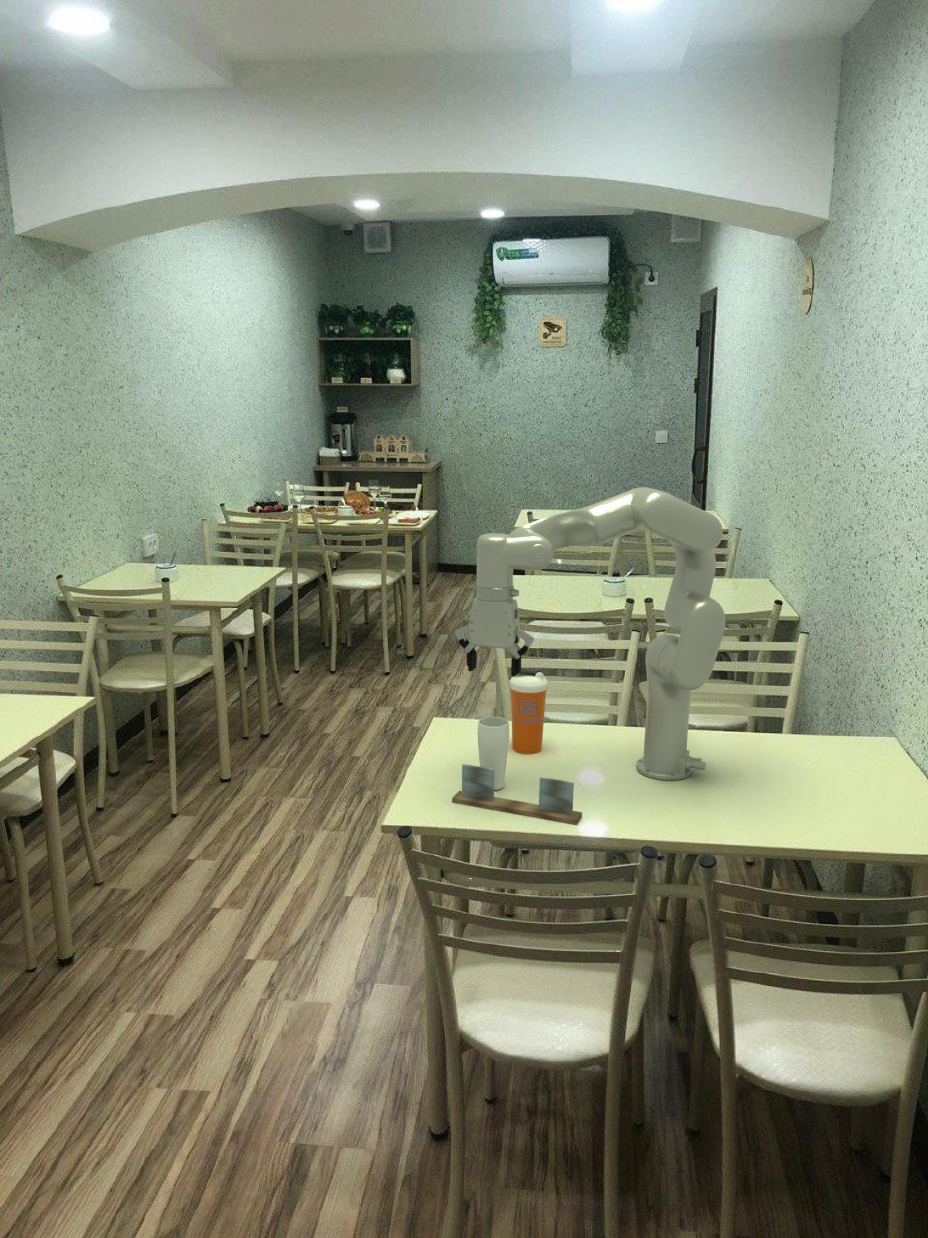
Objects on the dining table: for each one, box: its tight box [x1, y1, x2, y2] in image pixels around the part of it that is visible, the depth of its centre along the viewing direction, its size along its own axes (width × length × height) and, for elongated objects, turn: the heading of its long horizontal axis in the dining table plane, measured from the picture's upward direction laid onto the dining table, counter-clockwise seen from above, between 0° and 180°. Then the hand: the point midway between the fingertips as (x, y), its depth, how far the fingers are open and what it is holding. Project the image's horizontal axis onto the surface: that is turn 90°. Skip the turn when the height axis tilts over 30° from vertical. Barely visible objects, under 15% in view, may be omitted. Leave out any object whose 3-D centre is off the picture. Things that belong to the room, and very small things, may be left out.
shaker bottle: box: [509, 667, 548, 755], centre depth 225 cm, size 9×9×20 cm
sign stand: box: [451, 763, 583, 826], centre depth 193 cm, size 27×4×8 cm, turn 68°
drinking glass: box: [477, 716, 510, 791], centre depth 204 cm, size 7×7×15 cm
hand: (493, 672), depth 199 cm, fingers open, 9 cm apart
